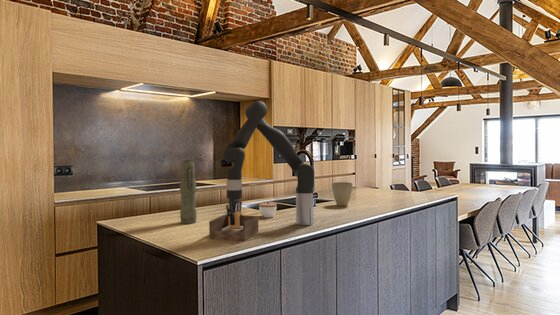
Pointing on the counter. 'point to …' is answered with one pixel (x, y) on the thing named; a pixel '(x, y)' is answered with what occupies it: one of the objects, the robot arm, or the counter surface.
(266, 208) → the lidded jar
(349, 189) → the plant pot
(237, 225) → the orange rectangular block
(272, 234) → the counter surface
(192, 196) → the thermos
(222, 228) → the inlet box
